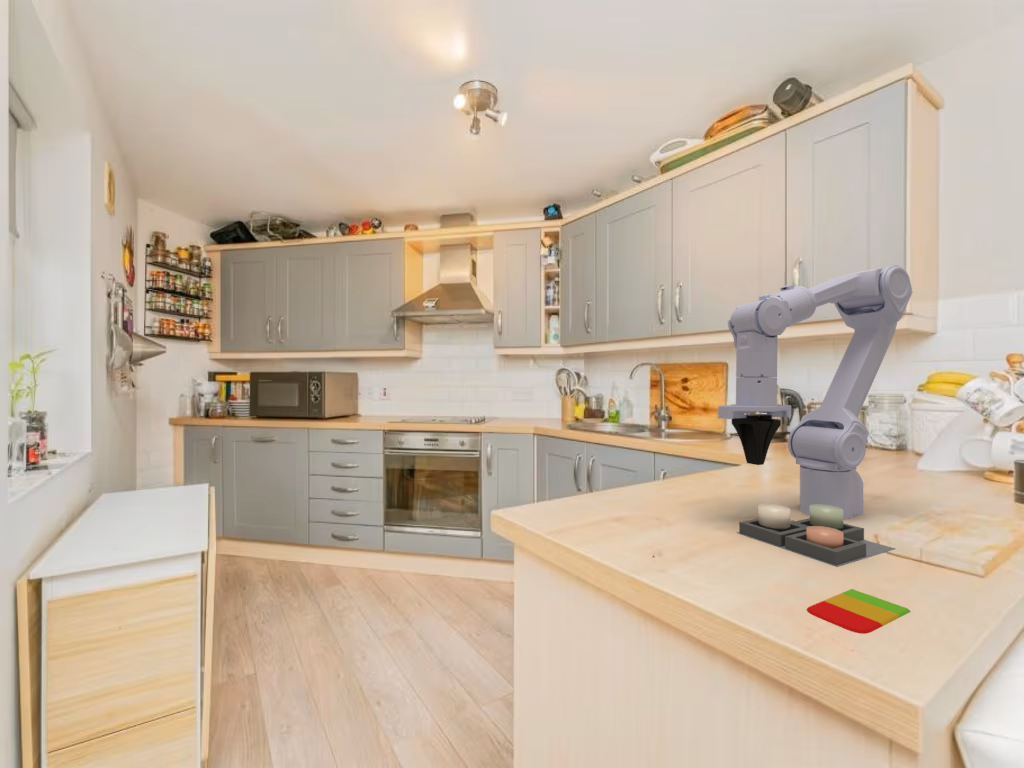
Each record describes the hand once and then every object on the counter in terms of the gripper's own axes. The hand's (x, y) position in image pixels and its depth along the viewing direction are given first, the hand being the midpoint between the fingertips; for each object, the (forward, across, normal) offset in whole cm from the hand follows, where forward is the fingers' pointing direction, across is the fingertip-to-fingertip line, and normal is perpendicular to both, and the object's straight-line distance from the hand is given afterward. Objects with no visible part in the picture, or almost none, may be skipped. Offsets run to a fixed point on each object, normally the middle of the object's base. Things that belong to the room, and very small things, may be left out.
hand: (755, 463), depth 73 cm
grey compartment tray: (+10, 0, +9) cm, 14 cm away
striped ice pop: (+11, +13, +23) cm, 29 cm away
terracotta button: (+9, +3, +13) cm, 16 cm away
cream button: (+8, +3, +6) cm, 10 cm away
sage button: (+7, -3, +9) cm, 12 cm away
